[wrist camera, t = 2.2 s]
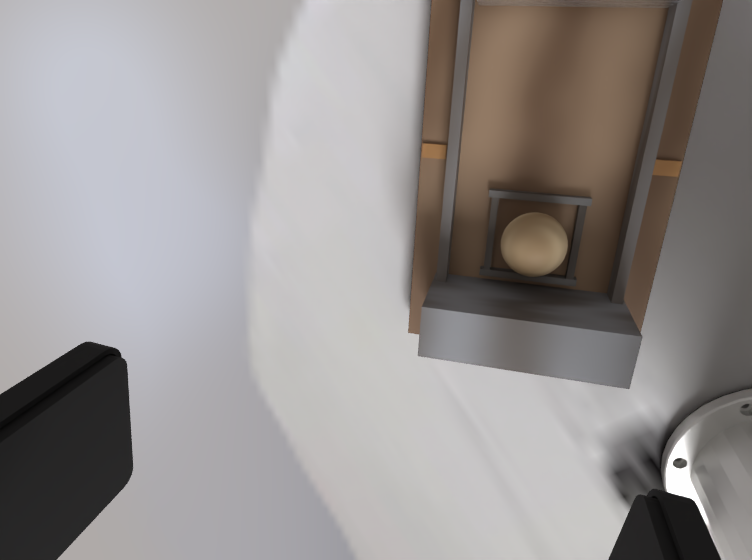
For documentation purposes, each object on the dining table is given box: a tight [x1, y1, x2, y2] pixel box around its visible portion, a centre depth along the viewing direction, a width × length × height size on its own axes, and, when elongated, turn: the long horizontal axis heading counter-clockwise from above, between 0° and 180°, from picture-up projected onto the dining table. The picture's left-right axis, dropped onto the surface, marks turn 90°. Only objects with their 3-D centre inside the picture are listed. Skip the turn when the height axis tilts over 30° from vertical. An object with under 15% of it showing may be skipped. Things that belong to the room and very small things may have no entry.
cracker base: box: [408, 0, 723, 389], centre depth 27 cm, size 14×26×8 cm, turn 178°
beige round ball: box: [501, 212, 568, 277], centre depth 29 cm, size 4×4×4 cm
